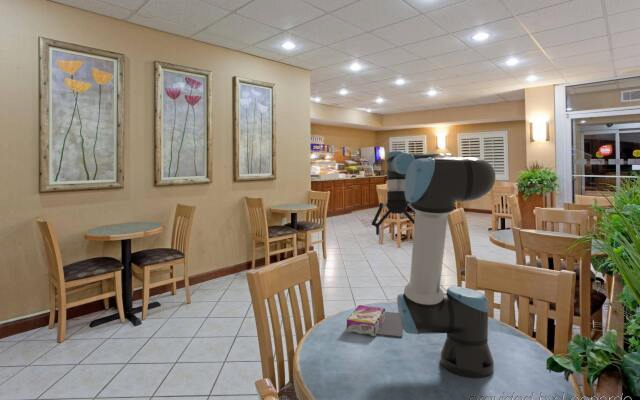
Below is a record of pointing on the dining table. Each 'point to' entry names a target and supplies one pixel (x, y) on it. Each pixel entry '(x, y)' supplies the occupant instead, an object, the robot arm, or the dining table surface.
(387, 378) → the dining table surface
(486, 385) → the dining table surface
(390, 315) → the charcoal mat
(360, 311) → the candy bar box
